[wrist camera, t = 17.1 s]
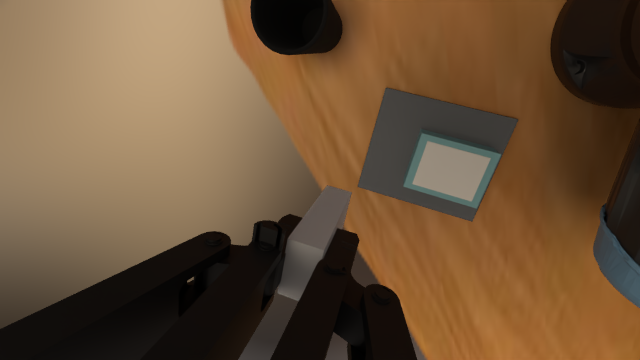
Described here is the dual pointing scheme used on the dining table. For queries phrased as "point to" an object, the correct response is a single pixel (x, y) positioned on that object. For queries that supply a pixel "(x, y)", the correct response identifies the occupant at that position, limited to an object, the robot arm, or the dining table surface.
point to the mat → (401, 135)
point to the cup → (296, 25)
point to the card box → (450, 168)
